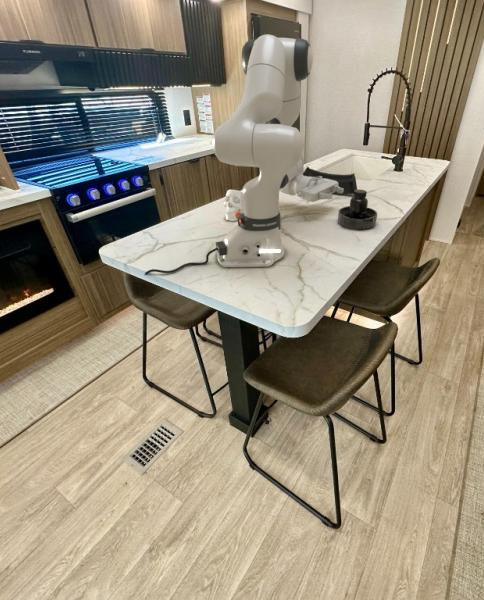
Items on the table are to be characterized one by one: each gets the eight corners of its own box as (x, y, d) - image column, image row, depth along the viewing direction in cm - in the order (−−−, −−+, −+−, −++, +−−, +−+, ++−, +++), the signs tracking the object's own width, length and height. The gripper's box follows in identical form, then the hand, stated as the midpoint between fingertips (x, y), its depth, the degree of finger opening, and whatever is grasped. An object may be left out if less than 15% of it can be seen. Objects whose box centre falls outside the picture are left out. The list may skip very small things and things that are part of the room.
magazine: (364, 177, 154) (309, 152, 159) (363, 178, 151) (307, 153, 156) (351, 209, 165) (299, 185, 170) (349, 211, 162) (297, 186, 167)
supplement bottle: (365, 225, 127) (369, 194, 120) (347, 223, 129) (350, 193, 122) (365, 218, 133) (369, 189, 126) (348, 217, 134) (351, 188, 127)
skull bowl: (214, 217, 133) (220, 187, 132) (232, 224, 146) (237, 197, 145) (236, 220, 129) (242, 190, 128) (252, 227, 142) (258, 200, 141)
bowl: (345, 232, 124) (346, 221, 121) (332, 217, 136) (333, 207, 133) (382, 228, 126) (384, 217, 124) (366, 214, 138) (367, 204, 136)
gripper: (294, 186, 128) (324, 192, 122) (321, 175, 142) (349, 180, 135) (294, 201, 132) (323, 208, 125) (320, 189, 145) (348, 195, 139)
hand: (337, 193), depth 130 cm, fingers open, 8 cm apart
